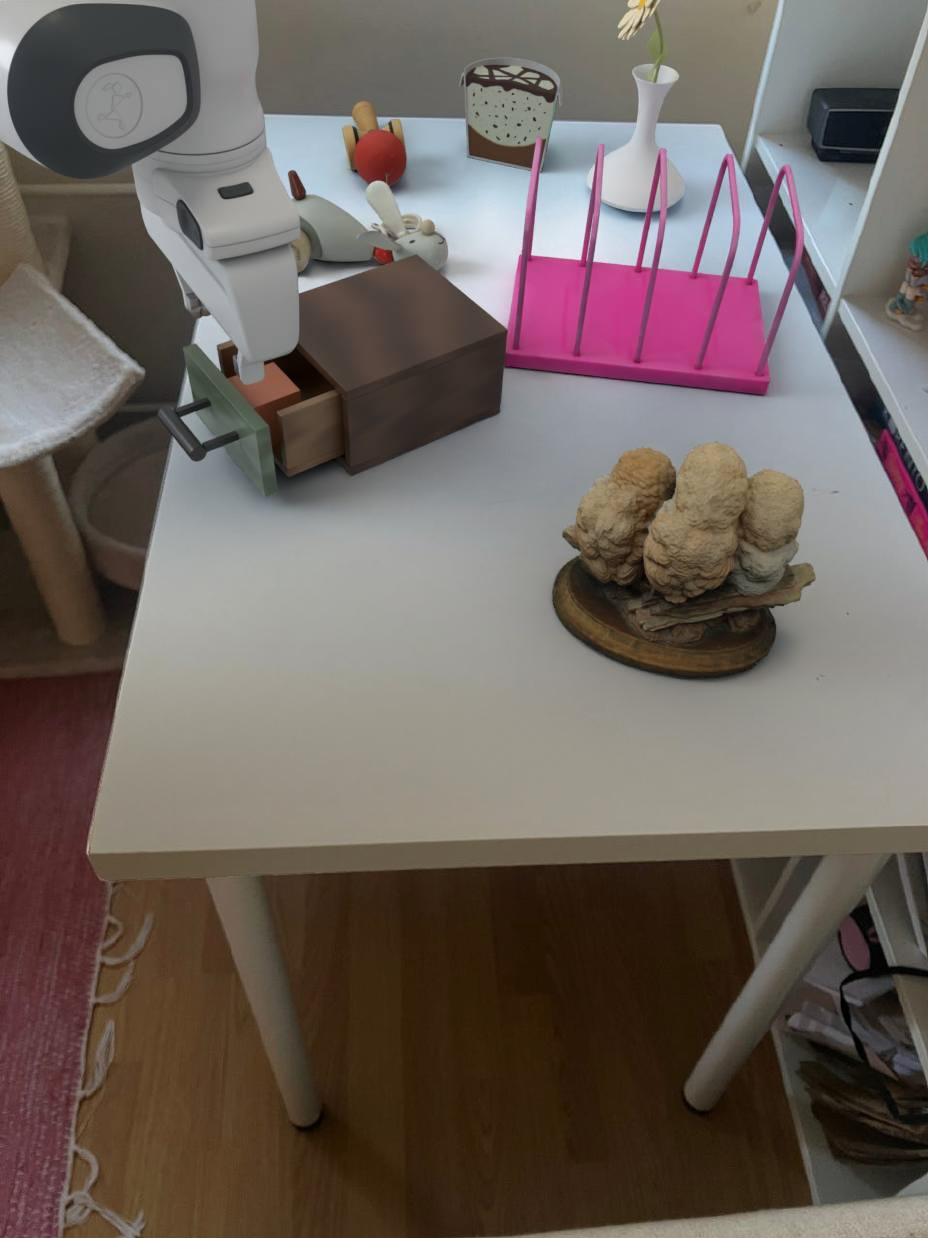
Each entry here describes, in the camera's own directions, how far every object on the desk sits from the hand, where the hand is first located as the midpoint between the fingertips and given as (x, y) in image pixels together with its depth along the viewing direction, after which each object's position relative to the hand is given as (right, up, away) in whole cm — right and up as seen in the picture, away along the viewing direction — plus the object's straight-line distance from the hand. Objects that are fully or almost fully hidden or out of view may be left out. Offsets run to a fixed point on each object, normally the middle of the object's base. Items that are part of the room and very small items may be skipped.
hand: (224, 344), depth 77 cm
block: (+2, -5, +8) cm, 9 cm away
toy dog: (+7, +17, +29) cm, 35 cm away
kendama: (+7, +34, +44) cm, 56 cm away
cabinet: (+11, -1, +14) cm, 18 cm away
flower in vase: (+38, +28, +40) cm, 62 cm away
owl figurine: (+34, -21, -1) cm, 40 cm away
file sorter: (+36, +8, +23) cm, 43 cm away
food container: (+24, +36, +46) cm, 63 cm away
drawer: (+3, -5, +9) cm, 11 cm away
